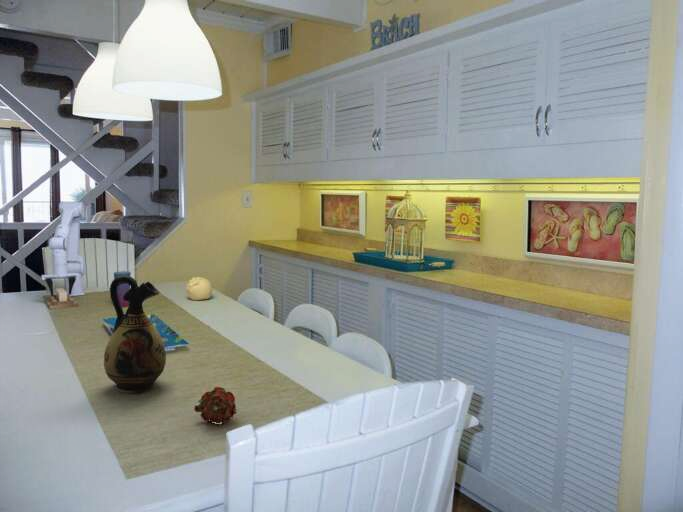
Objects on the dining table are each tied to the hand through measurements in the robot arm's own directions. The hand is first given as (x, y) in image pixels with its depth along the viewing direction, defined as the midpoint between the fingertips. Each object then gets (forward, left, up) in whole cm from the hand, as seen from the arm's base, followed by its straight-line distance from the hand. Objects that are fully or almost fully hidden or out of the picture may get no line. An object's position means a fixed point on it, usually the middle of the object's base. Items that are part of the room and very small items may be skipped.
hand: (61, 294), depth 241 cm
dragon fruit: (+150, +13, -4) cm, 150 cm away
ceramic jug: (+118, +2, -4) cm, 119 cm away
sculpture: (+18, +56, -4) cm, 59 cm away
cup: (+18, +22, -4) cm, 28 cm away
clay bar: (0, 0, -3) cm, 3 cm away
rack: (0, 0, -4) cm, 4 cm away
